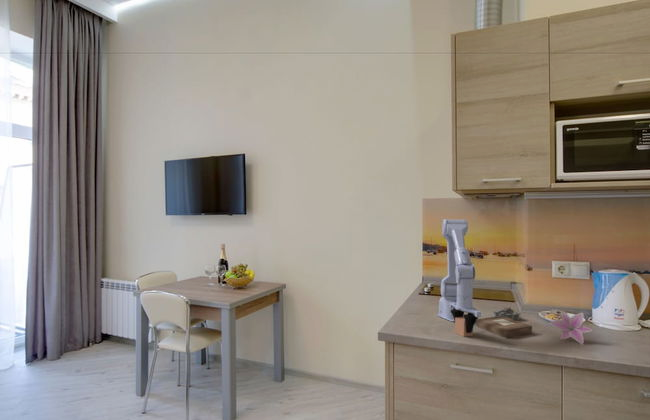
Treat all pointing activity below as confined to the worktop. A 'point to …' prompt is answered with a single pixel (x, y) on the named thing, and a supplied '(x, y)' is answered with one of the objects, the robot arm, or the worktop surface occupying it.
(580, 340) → the lily
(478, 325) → the walnut base
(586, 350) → the worktop surface
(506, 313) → the egg carton
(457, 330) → the terracotta block
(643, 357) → the worktop surface
